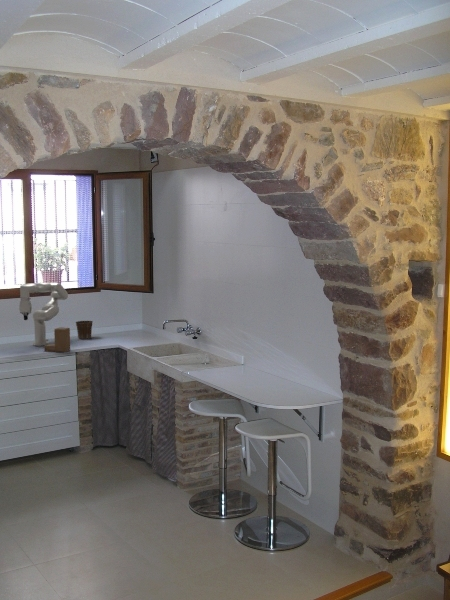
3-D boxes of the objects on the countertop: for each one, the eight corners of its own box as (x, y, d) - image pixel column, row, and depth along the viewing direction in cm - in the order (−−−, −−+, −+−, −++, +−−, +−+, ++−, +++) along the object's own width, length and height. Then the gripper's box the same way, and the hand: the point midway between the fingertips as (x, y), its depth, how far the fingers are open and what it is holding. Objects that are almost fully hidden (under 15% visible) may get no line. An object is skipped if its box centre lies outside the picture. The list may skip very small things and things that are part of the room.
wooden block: (64, 352, 572) (64, 329, 570) (54, 351, 575) (53, 328, 572) (70, 350, 581) (70, 327, 579) (60, 349, 584) (59, 327, 582)
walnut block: (50, 349, 588) (50, 343, 587) (60, 350, 585) (60, 344, 584) (44, 351, 578) (44, 345, 577) (54, 352, 575) (54, 346, 575)
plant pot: (72, 338, 641) (72, 321, 639) (86, 336, 653) (85, 320, 651) (82, 340, 631) (82, 323, 629) (96, 338, 643) (96, 321, 641)
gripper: (34, 298, 590) (35, 319, 592) (19, 298, 594) (20, 319, 596) (30, 300, 583) (31, 320, 585) (15, 299, 587) (15, 320, 589)
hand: (25, 319), depth 591 cm, fingers closed
